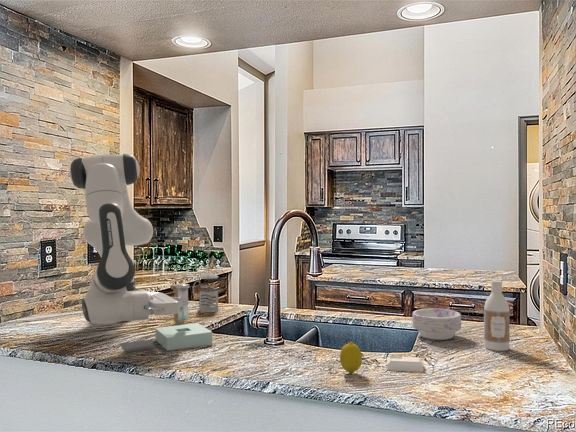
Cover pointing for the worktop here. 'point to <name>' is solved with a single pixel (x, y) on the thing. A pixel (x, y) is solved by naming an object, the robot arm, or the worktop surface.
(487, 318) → the bath foam
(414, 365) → the soap bar
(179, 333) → the hole block
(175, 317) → the handle
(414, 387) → the worktop surface
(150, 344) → the mat
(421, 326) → the marbled white bowl
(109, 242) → the robot arm
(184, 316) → the pin
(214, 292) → the french press
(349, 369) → the lemon
